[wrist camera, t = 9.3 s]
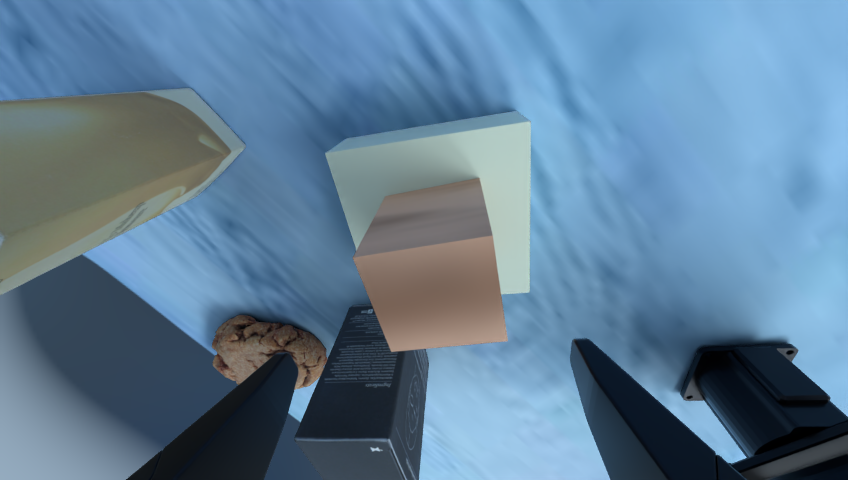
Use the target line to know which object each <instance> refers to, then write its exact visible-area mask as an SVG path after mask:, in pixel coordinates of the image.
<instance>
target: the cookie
mask: <svg viewBox="0 0 848 480" xmlns="http://www.w3.org/2000/svg"><path fill="white" fill-rule="evenodd" d="M255 320H256V319H254V318H253V317H251V316H245V315H237V316H236V317H234V318H231V319H229V320H228V321H226V322H225V323H223V324H222V325H221V326H220V327H219V328H218V329H217V331H216V335H215V338H214V340H213V343H212V348H214V349H215V350H216V351H217V353H218V354H217V355H215V358H214V361H213V366H214V367H215V368H216V369H217V370H218V371H219V372H221V373H222V374H223V375H224V376H225V377H226V378H229V379H231V380H233V381H237V384H238V385H239V384H240V383H242V382H243V381H244V380H245V379H246V378H247V377H249V376H250V375H251V374H252V373H253V372H255V371H256V370H257V369H258V368H259V367H260V366H262V365H263V364H264V363H265V362H266V361H268V360H269V359H270V358H271V357H272V356H273V355H275V354H277V353H286V352H287V353H289V354H290V355H291V356H292V358H293V360H294V361H295V363H296V365H297V367H298V371H299V373H298V378H297V382H296V385H295V389H299V388H302V387H307V386H310V385H311V384H312V383H314V382H315V381H316V380H317V379H318V378H319V377H320V376H321V374H322V371H323V369H324V365H325V364H326V362H327V357H326V348H324V346H323V345H322V343H321V342H320V341H319V340H318V339H316V338H315V336H314V335H312V334H311V333H310V332H304V331H303V330H299V329H297V328H296V329H294V326H291V325H287V324H286V325H285V326H283V324H281V323H269V322H268V323H266V322H257V321H255ZM295 389H294V390H295Z"/></svg>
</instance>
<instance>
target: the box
mask: <svg viewBox="0 0 848 480" xmlns="http://www.w3.org/2000/svg"><path fill="white" fill-rule="evenodd" d="M428 367H429V362H428V357H427V354H426V349H417V350H406V351H396V352H391V350H390V347H389V345H388V343H387V340H386V338H385V335H384V333H383V330H382V328H381V326H380V323H379V321H378V318H377V316H376V313H375V311H374V309H373V306H372V304H371V305H353V306H352V307H350V308H349V311H348V313H347V315H346V318H345V320H344V322H343V325H342V327H341V329H340V332H339V334H338V336H337V339H336V341H335V344H334V346H333V348H332V350H331V353H330V355H329V357H328V360H327V362H326V364H325V367H324V369H323V371H322V374H321V376H320V378H319V381H318V383H317V385H316V388H315V390H314V392H313V395H312V397H311V399H310V402H309V404H308V407H307V409H306V411H305V414H304V416H303V418H302V421H301V423H300V426H299V428H298V431H297V433H296V435H295V437H294V440H295V442H296V443H297V445H298V446H299V447H300V448H301V450H302V451H303V453H304V454H305V455H306V457H307V458H308V459H309V460H310V462H311V463H312V465H313V466H314V467H315V469H316V470H317V471H318V473H319V474H320V475H321V477H322V478H323V480H419V470H420V459H421V448H422V435H423V423H424V411H425V400H426V388H427V378H428Z"/></svg>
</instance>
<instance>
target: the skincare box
mask: <svg viewBox="0 0 848 480" xmlns="http://www.w3.org/2000/svg"><path fill="white" fill-rule="evenodd" d="M245 147H246V145H245V144H244V143H243V142H242V141H241V140H240V139H239V137H238V136H237V135H236V134H235V133H234V132H233V131H232V130H231V129H230V128H229V127H228V126H227V125H226V124H225V122H224V121H223V120H222V119H221V118H220V117H219V116H218V115H217V114H216V113H215V112H214V111H213V110H212V109H211V108H210V107H209V106H208V105H207V104H206V103H205V102H204V101H203V100H202V99H201V98H200V97H199V96H198V95H197V94H196V93H195V92H194V91H193V90H192V89H191V88H178V89H163V90H149V91H135V92H120V93H106V94H89V95H75V96H61V97H46V98H31V99H17V100H3V101H0V295H2V294H4V293H6V292H8V291H9V290H12V289H14V288H16V287H17V286H20V285H22V284H24V283H26V282H27V281H29V280H31V279H33V278H35V277H37V276H39V275H41V274H43V273H45V272H47V271H49V270H51V269H53V268H55V267H57V266H59V265H61V264H63V263H65V262H67V261H69V260H71V259H73V258H75V257H77V256H79V255H81V254H83V253H85V252H87V251H89V250H91V249H93V248H95V247H97V246H99V245H101V244H103V243H105V242H107V241H109V240H111V239H113V238H115V237H117V236H119V235H121V234H123V233H125V232H127V231H129V230H131V229H133V228H135V227H137V226H139V225H141V224H143V223H145V222H146V221H148V220H150V219H152V218H155V217H157V216H159V215H161V214H163V213H165V212H167V211H169V210H171V209H173V208H175V207H177V206H179V205H181V204H183V203H185V202H187V201H189V200H191V199H193V198H195V197H197V196H198V195H199V194H200V193H201V192H202V191H204V190H205V189H206V188H207V187H208V186H209V185H210V184H211V183H212V182H213V181H214V180H215V179H216V178H217V177H218V176H219V175H220V174H221V173H222V172H223V171H224V170H225V169H226V168H227V167H228V166H229V165H230V164H231V163H232V162H233V161H234V160H235V158H236V157H237V156H238V155H239V154H240V153H241V152H242V151H243V150H244V148H245Z"/></svg>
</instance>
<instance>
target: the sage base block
mask: <svg viewBox="0 0 848 480" xmlns="http://www.w3.org/2000/svg"><path fill="white" fill-rule="evenodd" d="M325 155H326V158H327V161H328V164H329V167H330V170H331V173H332V177H333V180H334V183H335V186H336V189H337V192H338V195H339V198H340V201H341V204H342V207H343V210H344V214H345V217H346V220H347V223H348V226H349V229H350V232H351V235H352V238H353V241H354V244H355V247H356V250H357V248H358V247H359V245H360V243H361V241H362V239H363V237H364V235H365V233H366V232H367V230H368V228H369V226H370V224H371V222H372V220H373V218H374V217H375V215H376V213H377V211H378V209H379V207H380V205H381V203H382V201H383V200H384V198H385V196H389V195H394V194H399V193H404V192H409V191H414V190H420V189H425V188H430V187H435V186H440V185H445V184H450V183H455V182H460V181H466V180H471V179H476V178H480V182H481V187H482V191H483V195H484V200H485V204H486V208H487V213H488V217H489V222H490V226H491V230H492V235H493V241H494V248H495V255H496V262H497V269H498V276H499V283H500V290H501V294H514V293H529V292H530V160H531V121H530V120H529V119H527V118H526V117H524V116H523V115H522V114H520V113H519V112H518V111H512V112H505V113H499V114H493V115H487V116H481V117H475V118H468V119H462V120H456V121H450V122H444V123H438V124H431V125H425V126H419V127H413V128H407V129H401V130H394V131H388V132H382V133H376V134H370V135H364V136H357V137H351V138H346V139H345V140H343V141H342V142H341V143H339V144H338V145H336V146H335V147H333V148H332V149H330V150H329V151H327V152H326V153H325Z"/></svg>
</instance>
